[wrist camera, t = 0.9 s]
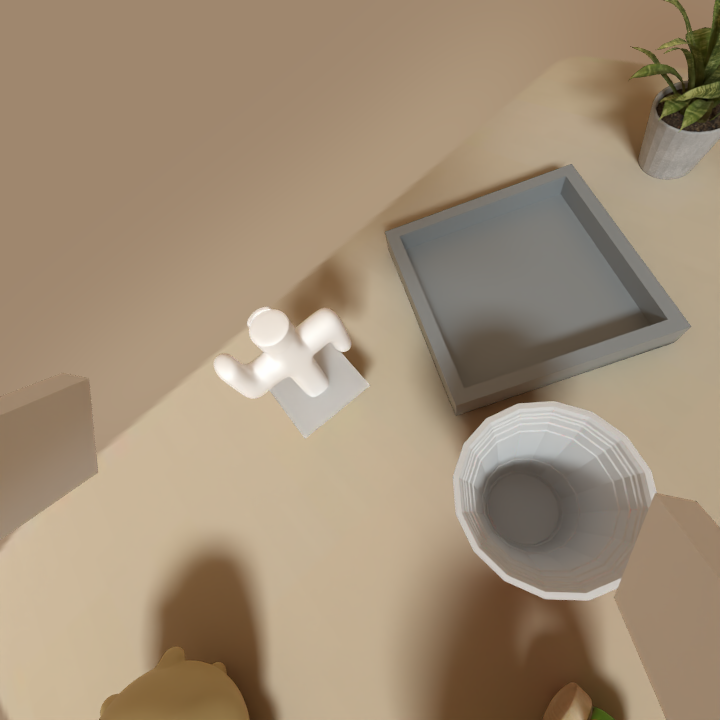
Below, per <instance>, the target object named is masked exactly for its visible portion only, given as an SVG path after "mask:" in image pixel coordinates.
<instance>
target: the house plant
mask: <svg viewBox="0 0 720 720" xmlns="http://www.w3.org/2000/svg"><path fill="white" fill-rule="evenodd" d="M664 1H667V2H670V3H672V4H674V5H675V6H676V7H677V8H678V9H679V10H680V12H681V13H682V15H683V17H684V20H685V23H686V28H687V34H686V40H687V42H686V41H685V40H683V39H680V38H677V39H674V40H672V41H670V42H668V43H665V44H663V45H662V46H661V47H659V48H658V50H659V49H663V48H667V47H671V46H675V45H679V44H688V45H689V48H690V51H691V53H690V52H689V51H688V50H687V49H681V50H682V51H683V53H684V54H685V57H686V60H687V64H688V78H689V79H688V81H683V80H682V77H681V76H680V75H679V74H678V73H677V71H676V70H675V69H674V68H672V67H670V66H668V65H663V64H660V63H659V61H658V59H657V58H656V56H655V55H654V54H653V53H651V52H650V51H648V50H645V49H642V48H638V47H632V48H634V49H637V50H639V51H641V52H643V53H645V54H646V55H648V56H649V57H650V58H651V59H652V61H653V62H654V63H655V64H649V65H647V66H645V67H643V68H641V69H640V70H638V71H637V72H636V73H635V74H634V75H633V76H632V77H631V78H638V77H646V76H651V75H657V74H661V75H662V77H663V78H664V79H665V80H666V81H667V83H668V84H669V86H668V87H666V88H665V89H663V90H662V91H661V92H660V93H659V94H658V95H657V96H656V97H655V99H654V101H653V104H652V108H651V112H650V116H649V120H648V123H647V127H646V131H645V135H644V139H643V143H642V147H641V150H640V154H639V160H638V162H639V165H640V167H641V168H642V170H643V171H644V172H646V173H647V174H649V175H651V176H653V177H656V178H660V179H676V178H679V177H682V176H684V175H686V174H688V173H689V172H690V171H691V170H692V169H693V168H694V167H695V165H696V164H697V163H698V162H699V161H700V160H701V159H702V158H703V157H704V155H705V154H706V153H707V152H708V151H709V150H710V149H711V148H712V147H713V146H714V144H715V143H716V142H717V141H718V140H719V139H720V0H716V1H715V5H714V13H713V23H712V28H706V27H705V28H702V29H698V30H695V31H692V29H691V26H690V22H689V19H688V17H687V14H686V12H685V10H684V8H683V7H682V6H681V4H680V3H679V2H678V0H664ZM687 24H688V25H687ZM688 28H689V30H688ZM689 31H690V32H689ZM676 49H680V48H672V49H670V50H668V51H666V52H665V53H667V52H670V51H672V50H676ZM667 73H671V74H673V75H675V76H677V78H678V79H679V80H680V81H681V82H678V83H675V84H673V83H672V81H671V80H670V78H669V77H668V76H667ZM631 78H630V79H631ZM630 79H629V80H630ZM629 80H628V81H629Z"/></svg>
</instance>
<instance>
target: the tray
mask: <svg viewBox="0 0 720 720" xmlns="http://www.w3.org/2000/svg"><path fill="white" fill-rule="evenodd" d="M385 234H386V239H387V244H388V249H389V252H390V254H391V257H392V259H393V262H394V264H395V267H396V269H397V272H398V274H399V277H400V279H401V282H402V284H403V286H404V289H405V291H406V294H407V296H408V299H409V301H410V304H411V306H412V309H413V311H414V314H415V316H416V319H417V321H418V324H419V326H420V329H421V331H422V334H423V336H424V339H425V341H426V344H427V346H428V348H429V351H430V353H431V356H432V358H433V361H434V363H435V366H436V368H437V371H438V373H439V376H440V378H441V381H442V383H443V386H444V388H445V391H446V393H447V396H448V398H449V401H450V403H451V406H452V408H453V410H454V413H455V415H456V416H457V415H460V414H463V413H465V412H468V411H471V410H474V409H477V408H480V407H483V406H486V405H489V404H492V403H495V402H498V401H501V400H504V399H507V398H510V397H513V396H516V395H519V394H522V393H525V392H528V391H531V390H534V389H537V388H540V387H543V386H546V385H549V384H552V383H555V382H558V381H561V380H564V379H567V378H570V377H573V376H576V375H579V374H582V373H585V372H588V371H591V370H594V369H597V368H600V367H603V366H606V365H609V364H612V363H615V362H618V361H621V360H624V359H627V358H630V357H633V356H635V355H638V354H641V353H644V352H647V351H650V350H653V349H656V348H659V347H662V346H665V345H668V344H671V343H674V342H675V341H676V340H677V339H679V338H680V337H681V336H682V335H683V334H684V333H685V332H686V331H687V330H688V329H689V328H690V327H691V325H690V324H689V323H688V321H687V320H686V319H685V317H684V316H683V315H682V313H681V312H680V311H679V309H678V308H677V306H676V305H675V304H674V302H673V301H672V300H671V298H670V297H669V296H668V294H667V293H666V291H665V290H664V289H663V287H662V286H661V285H660V283H659V282H658V281H657V279H656V278H655V277H654V275H653V274H652V272H651V271H650V270H649V268H648V267H647V266H646V264H645V263H644V262H643V260H642V259H641V257H640V256H639V255H638V253H637V252H636V251H635V249H634V248H633V247H632V245H631V244H630V243H629V241H628V240H627V238H626V237H625V236H624V234H623V233H622V232H621V230H620V229H619V228H618V226H617V225H616V223H615V222H614V221H613V219H612V218H611V217H610V215H609V214H608V213H607V211H606V210H605V209H604V207H603V206H602V204H601V203H600V202H599V200H598V199H597V198H596V196H595V195H594V194H593V192H592V191H591V189H590V188H589V187H588V185H587V184H586V183H585V181H584V180H583V179H582V177H581V176H580V175H579V173H578V172H577V170H576V169H575V168H574V166H573V165H572V164H570V165H567V166H564V167H562V168H559V169H556V170H553V171H551V172H548V173H545V174H542V175H540V176H537V177H534V178H531V179H529V180H526V181H523V182H520V183H518V184H515V185H512V186H510V187H507V188H504V189H501V190H499V191H496V192H493V193H490V194H488V195H485V196H482V197H479V198H477V199H474V200H471V201H468V202H466V203H463V204H460V205H457V206H455V207H452V208H449V209H446V210H444V211H441V212H438V213H435V214H433V215H430V216H427V217H424V218H422V219H419V220H416V221H413V222H411V223H408V224H405V225H402V226H400V227H397V228H394V229H391V230H389V231H386V232H385Z"/></svg>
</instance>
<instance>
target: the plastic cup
mask: <svg viewBox="0 0 720 720" xmlns="http://www.w3.org/2000/svg"><path fill="white" fill-rule="evenodd" d="M453 485H454V498H455V510H456V516H457V518H458V520H459V522H460V524H461V526H462V528H463V530H464V532H465V534H466V537H467V539H468V541H469V543H470V545H471V547H472V549H473V551H474V552H475V553H476V554H477V555H478V556H479V557H480V558H481V559H482V560H483V561H484V562H485V563H486V564H487V565H488V566H489V567H490V568H491V569H493V570H494V571H495V572H496V573H497V574H498V575H499V576H500V577H501V578H502V579H503V580H504V581H505V582H508V583H510V584H512V585H514V586H517V587H519V588H521V589H523V590H526V591H528V592H530V593H532V594H535V595H537V596H539V597H541V598H544V599H555V600H586V601H589V600H592V599H594V598H596V597H599V596H601V595H603V594H606V593H608V592H610V591H613V590H615V589H617V588H618V586H619V583H620V581H621V578H622V576H623V573H624V571H625V568H626V566H627V563H628V561H629V558H630V555H631V553H632V550H633V548H634V545H635V543H636V540H637V538H638V535H639V533H640V530H641V527H642V525H643V522H644V520H645V517H646V515H647V512H648V510H649V507H650V504H651V502H652V499H653V497H654V494H655V493H657V492H656V488H655V484H654V480H653V475H652V471H651V470H650V468H649V467H648V465H647V464H646V463H645V461H644V460H643V458H642V457H641V455H640V454H639V453H638V451H637V450H636V448H635V447H634V446H633V444H632V443H631V441H630V440H629V438H628V437H627V436H626V435H625V434H623V433H622V432H620V431H619V430H618V429H616V428H615V427H613V426H612V425H610V424H609V423H608V422H606V421H605V420H603V419H602V418H600V417H599V416H598V415H596V414H595V413H593V412H591V411H588V410H584V409H581V408H577V407H574V406H570V405H567V404H563V403H560V402H556V401H547V402H533V403H518V404H516V405H513V406H511V407H509V408H507V409H505V410H503V411H501V412H499V413H497V414H494V415H492V416H490V417H488V418H486V419H485V420H484V421H483V423H482V424H481V425H480V426H479V427H478V428H477V429H476V430H475V432H474V433H473V434H472V435H471V436H470V437H469V438H468V439H467V441H466V442H465V443H464V444H463V447H462V450H461V453H460V457H459V460H458V463H457V466H456V469H455V472H454V475H453Z"/></svg>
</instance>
